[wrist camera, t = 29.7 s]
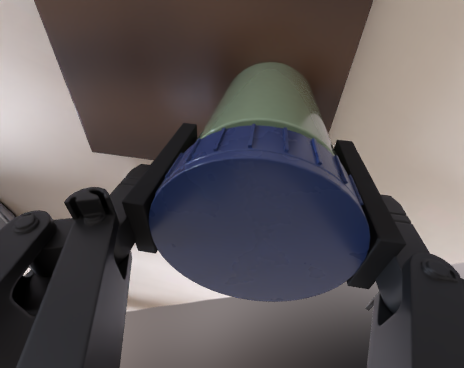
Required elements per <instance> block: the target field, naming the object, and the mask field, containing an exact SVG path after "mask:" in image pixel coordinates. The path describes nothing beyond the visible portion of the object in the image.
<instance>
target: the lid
mask: <svg viewBox="0 0 464 368" xmlns="http://www.w3.org/2000/svg"><path fill="white" fill-rule="evenodd" d="M155 195H156V196H155V198H154V200H153V202H152V204H151V208H150V212H149V227H150V231H151V235H152V239H153V242H154V244H155V245H156V247H157V249H158V251H159V252H160V253H161V255H162V256H163V257H164V258H165V260H166V261H167V262H168V263H169V264H170V265H171V266H172V267H174V268H175V269H176V270H177V271H178V272H180V273H181V274H182V275H184V276H185V277H187V278H188V279H190V280H192V281H193V282H195V283H197V284H199V285H201V286H203V287H206V288H208V289H210V290H213V291H216V292H218V293H221V294H225V295H228V296H232V297H236V298H242V299H247V300H254V301H269V302H278V301H291V300H299V299H304V298H309V297H312V296H316V295H320V294H322V293H325V292H327V291H330V290H332V289H334V288H336V287H338V286H339V285H341V284H343V283H344V282H346V281H347V280H348V279H349V278H351V277H352V276H353V275H354V274H355V273H356V271H357V270H358V269H359V267H360V266H361V265H362V263H363V261H364V260H365V258H366V256H367V253H368V250H369V245H370V230H369V225H368V222H367V219H366V217H365V214H364V212H363V209H362V207H361V205H364V204H363V202H362V199H361V197H360V195H359V192H358V190H357V188H356V185H355V183H354V181H353V178H352V176H351V175H348V174H347V172H346V170H345V169H344V167H343V165H342V164H341V162H340V160H339V157H338V156H337V155H335V156H334V155H333V154H332V153H331V152H330V151H328V150H327V149H326V148H325V147H323V146H322V145H320V144H319V143H317V142H316V139H315V138H313V139H310V138H308V137H306V136H304V135H302V134H300V133H296V132H293V131H290V130H287V128H286V127H284V128H277V127H272V126H259V125H256V124H252V125H250V126H238V127H233V128H228V129H226V128H222V130H221V131H218V132H215V133H212V134H210V135H208V136H206V137H204V138H202V139H200V138H198V139H197V141H196V142H195V143H194V144H193V145H192V146H190V147H189V148H188V149H187V150H186V151H185V152H184V153H180V155H179V156H178V158H177V159H176V161H175V162H174V164H173V165H172V167H171V168H170V170H169V172H168V173H167V175H166V176H165V179H164V181H163V182H162V184H161V185H160V187H159V188H158V190H157V191H156V193H155Z"/></svg>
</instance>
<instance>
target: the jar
mask: <svg viewBox="0 0 464 368" xmlns="http://www.w3.org/2000/svg"><path fill="white" fill-rule="evenodd" d="M252 124H256V125H259V126H272V127H277V128H284V127H286V128H287V130H290V131H293V132H296V133H300V134H302V135H304V136H306V137H308V138H310V139H313V138H315V139H316V142H317V143H319V144H320V145H322V146H323V147H325V148H326V149H327V150H328V151H330V152H331V153H332V154H333V155H334V156H335V155H336V154H335V151H334V149H333V146H332V143H331V141H330V138H329V135H328V132H327V130H326V127H325V124H324V122H323V119H322V116H321V114H320V111H319V108H318V105H317V103H316V100H315V97H314V95H313V92H312V89H311V87H310V85H309V83H308V81H307V80H306V79H305V78H304V76H303V75H302V74H301V73H299V72H298V71H297V70H295V69H294V68H292V67H290V66H288V65H285V64H282V63H277V62H264V63H259V64H255V65H253V66H251V67H248V68H247V69H245V70H243V71H242V72H241V73H240V74H238V75H237V76H236V77H235V78H234V80H233V81H232V82H231V84H230V85H229V87H228V88H227V90H226V92H225V93H224V95H223V97H222V98H221V100H220V102H219V103H218V105H217V107H216V108H215V110H214V112H213V113H212V115H211V117H210V118H209V120H208V122H207V123H206V125H205V127H204V128H203V130H202V132H201V133H200V135H199V137H198V138H200V139H202V138H204V137H206V136H208V135H210V134H212V133H215V132H218V131H221V130H222V128H226V129H228V128H233V127H238V126H250V125H252ZM198 138H197V139H198ZM196 141H197V140H196Z"/></svg>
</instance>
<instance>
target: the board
mask: <svg viewBox="0 0 464 368" xmlns="http://www.w3.org/2000/svg"><path fill="white" fill-rule="evenodd" d="M34 2H35V4H36V7H37V9H38V12H39V15H40V17H41V20H42V22H43V25H44V28H45V30H46V33H47V35H48V38H49V41H50V43H51V46H52V48H53V51H54V54H55V56H56V59H57V61H58V64H59V67H60V69H61V72H62V74H63V77H64V80H65V82H66V85H67V87H68V90H69V93H70V95H71V98H72V100H73V103H74V106H75V108H76V111H77V113H78V116H79V119H80V121H81V124H82V126H83V129H84V132H85V134H86V137H87V139H88V142H89V145H90V147H91V150H92V152H96V153H104V154H111V155H119V156H127V157H134V158H142V159H150V160H155V159H156V157H157V156H158V155H159V153H160V152H161V151H162V150H163V148H164V147H165V146H166V144H167V143H168V142H169V141H170V139H171V138H172V137H173V136H174V134H175V133H176V132H177V130H178V129H179V128H180V127H181V125H182V124H183V123H189V124H197V138H198V137H199V135H200V133H201V132H202V130H203V128H204V127H205V125H206V123H207V122H208V120H209V118H210V117H211V115H212V113H213V112H214V110H215V108H216V107H217V105H218V103H219V102H220V100H221V98H222V97H223V95H224V93H225V92H226V90H227V88H228V87H229V85H230V84H231V82H232V81H233V80H234V78H235V77H236V76H237V75H238V74H240V73H241V72H242V71H243V70H245V69H247V68H248V67H251V66H253V65H255V64H259V63H264V62H277V63H282V64H285V65H288V66H290V67H292V68H294V69H295V70H297V71H298V72H299V73H301V74H302V75H303V76H304V78H305V79H306V80H307V81H308V83H309V85H310V87H311V89H312V92H313V95H314V97H315V100H316V103H317V105H318V108H319V111H320V114H321V116H322V119H323V122H324V124H325V127H326V130H327V132H328V134H329V131H330V128H331V125H332V122H333V119H334V116H335V113H336V110H337V107H338V104H339V101H340V98H341V95H342V92H343V89H344V86H345V83H346V80H347V77H348V74H349V71H350V68H351V65H352V62H353V59H354V56H355V53H356V50H357V47H358V44H359V41H360V38H361V35H362V32H363V29H364V26H365V23H366V20H367V17H368V14H369V11H370V8H371V5H372V2H373V0H34Z"/></svg>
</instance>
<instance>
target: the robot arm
mask: <svg viewBox="0 0 464 368" xmlns="http://www.w3.org/2000/svg"><path fill="white" fill-rule="evenodd" d="M196 140H197V124H189V123H183V124H182V125H181V127H180V128H179V129H178V130H177V132H176V133H175V134H174V136H173V137H172V138H171V139H170V141H169V142H168V143H167V144H166V146H165V147H164V148H163V150H162V151H161V152H160V153H159V155H158V156H157V157H156V159H155V160H154V161H153V162H152V164H151V165H145V164H141V165H139V166H137V167H135V168H134V169H132V170H131V171H130V172H129V173H128V175H127V176H126V178H124V179H123V180H122V182H121V184H119V185H118V186H117V187H116V188H115V190H114V191H113V192H112V193H111V194H110V195H109V193H108V192H107V191H106V190H105V189H103V188H99V187H90V188H85V189H82V190H79V191H77V192H75V193H73V194H72V195H70V196H69V197H68V198H67V199H66V200H65V202H64V203H65V205H66V207H67V209H68V211H69V212H70V214H71V216H72V218H69V219H59V220H53V219H52V218H51V216H50V215H49V214H48V213H47V212H45V211H31V212H27V213H24V214H21V215H19V216H17V217H15V216H14V215H13V214H12V213H11V212H10V211H9V210H8V209H7V208H6V207H5V206H4V205H2V204H1V203H0V368H119V367H120V359H121V350H122V342H123V333H124V324H125V315H126V307H127V298H128V289H129V280H130V271H131V263H132V254H131V251H130V250H131V248H132V247H133V245H134V243H136V245H137V248H138V251H144V252H150V253H156V252H157V250H158V249H157V247H156V245H155V244H154V242H153V239H152V235H151V231H150V227H149V212H150V208H151V204H152V202H153V200H154V198H155V196H156V195H155V193H156V191H157V190H158V188H159V187H160V185H161V184H162V182H163V181H164V179H165V176H166V175H167V173H168V172H169V170H170V168H171V167H172V165H173V164H174V162H175V161H176V159H177V158H178V156H179V155H180V153H184V152H185V151H186V150H187V149H188V148H189V147H190V146H192V145H193V144H194V143H195V142H196ZM334 151H335V154H336V155H337V156H338V157H339V160H340V162H341V164H342V165H343V167H344V169H345V170H346V172H347V174H348V175H351V176H352V178H353V181H354V183H355V185H356V188H357V190H358V192H359V195H360V197H361V199H362V202H363V204H364V205H361V207H362V209H363V212H364V214H365V217H366V219H367V222H368V225H369V230H370V245H369V250H368V253H367V256H366V258H365V260H364V261H363V263H362V265H361V266H360V267H359V269H358V270H357V271H356V273H355V274H354V275H353V276H352V277H351V278H349V279H348V280H347V284H348V286H353V287H359V288H365V289H369V288H370V287H371V286H372V285H373V284H374V282H375V281H376V283H377V285H378V288H379V292H378V293H377V294H376V295H375V297H374V298H373V299H372V300H371V301H370V302H369V303H368V304H367V307H366V309H367V310H370V309H371V308H372V307H373V306H374V307H373V316H372V326H371V335H370V344H369V353H368V362H367V368H464V279H462V278H460V275H459V274H458V272H457V271H456V270H455V269H454V268H453V267H452V266H451V265H450V264H449V263H447V262H446V261H445V260H443V259H441V258H439V257H437V256H435V255H433V254H430V253H429V251H428V249H427V248H426V246H425V244H424V243H423V241H422V239H421V238H420V236H419V234H418V233H417V231H416V229H415V228H414V226H413V224H411V221H410V220H409V218H408V216H406V213H405V211H404V210H403V208H402V206H401V205H400V204H399V203H398V202H397V201H396V200H395V199H393V198H392V197H391V196H387V195H380V193H379V191H378V189H377V188H376V186H375V184H374V182H373V180H372V178H371V176H370V174H369V172H368V171H367V169H366V167H365V165H364V163H363V161H362V159H361V157H360V155H359V154H358V152H357V150H356V148H355V146H354V144H353V142H351V141H342V140H337V142H336V144H335V147H334ZM28 267H29V268H31V270H30V271H29V273H27V274H26V275H25V276H23V274H24V272H25V271H26V270H27V269H28Z"/></svg>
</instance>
